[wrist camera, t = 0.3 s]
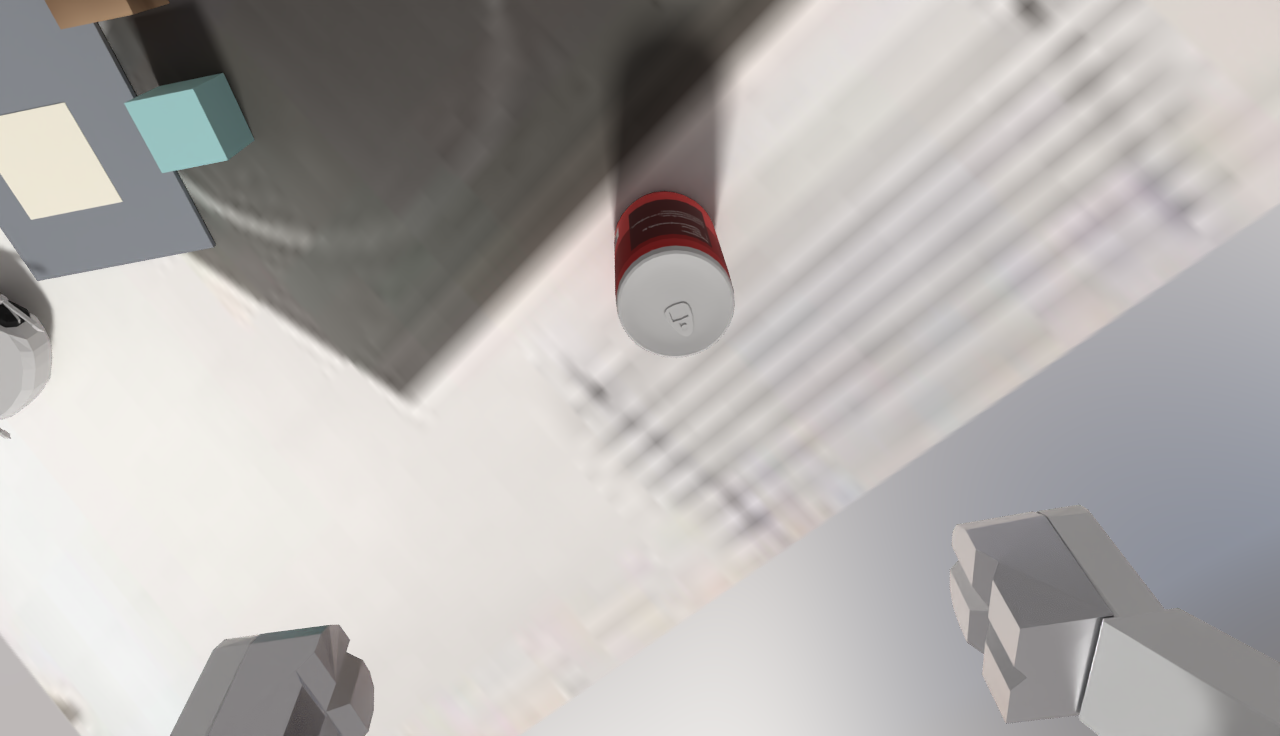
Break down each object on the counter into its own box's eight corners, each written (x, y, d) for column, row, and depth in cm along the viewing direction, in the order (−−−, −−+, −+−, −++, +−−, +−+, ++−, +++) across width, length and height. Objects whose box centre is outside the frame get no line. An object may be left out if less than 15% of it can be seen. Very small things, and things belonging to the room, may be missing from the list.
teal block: (159, 85, 50) (123, 102, 46) (223, 72, 50) (193, 88, 46) (193, 151, 53) (162, 173, 49) (254, 139, 52) (228, 160, 49)
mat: (-159, -10, 46) (-165, -9, 46) (54, -57, 45) (50, -57, 45) (40, 278, 57) (37, 281, 57) (215, 245, 56) (213, 247, 56)
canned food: (656, 301, 61) (666, 378, 51) (591, 229, 57) (590, 298, 48) (735, 245, 58) (760, 315, 49) (672, 166, 55) (687, 226, 45)
